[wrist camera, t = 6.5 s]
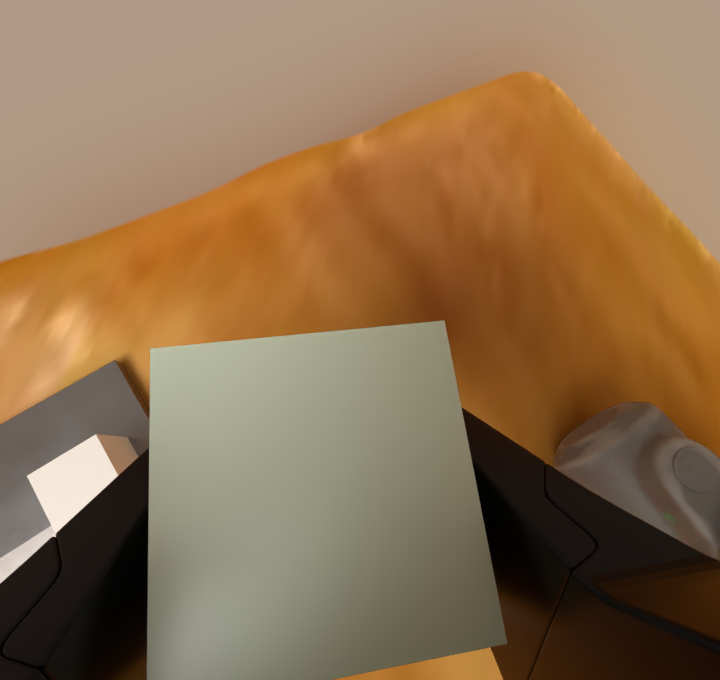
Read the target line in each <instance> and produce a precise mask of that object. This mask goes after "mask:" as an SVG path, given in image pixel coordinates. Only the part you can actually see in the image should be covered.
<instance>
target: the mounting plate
mask: <svg viewBox="0 0 720 680" xmlns="http://www.w3.org/2000/svg"><path fill="white" fill-rule="evenodd" d="M149 428H150V412H149V410H148V408H147V407H146V405H145V403H144V401H143V400H142V398H141V396H140V394H139V393H138V391H137V389H136V387H135V386H134V384H133V382H132V381H131V379H130V377H129V375H128V374H127V372H126V370H125V368H124V367H123V365H122V363H120V362H117V361H115V360H114V361H112V362H111V363H109V364H107V365H105V366H104V367H102V368H100V369H98V370H97V371H95V372H93V373H91V374H89V375H88V376H86V377H84V378H82V379H81V380H79V381H77V382H75V383H74V384H72V385H70V386H68V387H66V388H65V389H63V390H61V391H59V392H58V393H56V394H54V395H52V396H51V397H49V398H47V399H45V400H43V401H42V402H40V403H38V404H36V405H35V406H33V407H31V408H29V409H28V410H26V411H24V412H22V413H20V414H19V415H17V416H15V417H13V418H12V419H10V420H8V421H6V422H5V423H3V424H1V425H0V583H1V582H2V581H4V580H5V579H6V578H7V577H8V576H9V575H10V574H11V573H12V572H14V571H15V570H16V569H17V568H18V567H19V566H20V565H21V564H23V563H24V562H25V561H26V560H27V559H28V558H29V557H30V556H32V555H33V554H34V553H35V552H36V551H37V550H38V549H39V548H40V547H41V546H42V545H43V544H45V543H46V542H47V541H48V540H49V539H50V538H51V537H53V536H55V537H56V534H55V532H54V530H53V528H52V526H51V524H50V522H49V520H48V518H47V516H46V514H45V512H44V510H43V508H42V506H41V504H40V501H39V499H38V497H37V495H36V493H35V491H34V489H33V487H32V485H31V483H30V481H29V479H28V477H27V475H29V474H31V473H32V472H34V471H36V470H37V469H39V468H41V467H42V466H44V465H46V464H47V463H49V462H51V461H52V460H54V459H56V458H57V457H59V456H61V455H62V454H64V453H66V452H67V451H69V450H71V449H72V448H74V447H76V446H77V445H79V444H81V443H82V442H84V441H86V440H87V439H89V438H90V437H92V436H94V435H95V434H98V435H109V436H121V437H128V439H129V441H130V443H131V444H132V446H133V448H134V450H135V452H136V453H137V455H138V457H139V456H140V455H141V454H142V453H143V452H144V451H145V450H146V449H147V448H149Z"/></svg>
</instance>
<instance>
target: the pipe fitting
mask: <svg viewBox="0 0 720 680" xmlns="http://www.w3.org/2000/svg"><path fill="white" fill-rule="evenodd" d="M553 466H554V468H555V469H557V470H558V471H560V472H561V473H563V474H565V475H566V476H568V477H569V478H571V479H572V480H574V481H576V482H577V483H579V484H580V485H582V486H584V487H585V488H587V489H588V490H590V491H592V492H594V493H595V494H597V495H599V496H601V497H602V498H604V499H606V500H608V501H609V502H611V503H613V504H614V505H616V506H618V507H620V508H622V509H623V510H625V511H627V512H629V513H631V514H632V515H634V516H636V517H638V518H640V519H641V520H643V521H645V522H647V523H649V524H650V525H652V526H654V527H656V528H658V529H659V530H661V531H663V532H665V533H667V534H668V535H670V536H672V537H674V538H676V539H677V540H679V541H681V542H683V543H685V544H686V545H688V546H690V547H692V548H694V549H696V550H698V551H700V552H702V553H704V554H706V555H708V556H710V557H712V558H715V559H717V560H719V561H720V458H719V457H718V456H717V455H715V454H714V453H713V452H712V451H711V450H709V449H708V448H706V447H705V446H703V445H702V444H700V443H698V442H696V441H693V440H691V439H689V438H688V437H687V436H686V435H685V434H684V433H683V432H682V431H681V430H680V429H679V428H678V427H677V426H676V425H675V424H674V423H673V422H672V421H671V420H670V419H669V418H668V417H667V416H666V415H665V414H664V413H663V412H662V411H661V410H660V409H659V408H658V407H656V406H655V405H653V404H651V403H647V402H624V403H620V404H617V405H614V406H612V407H609V408H607V409H605V410H603V411H601V412H600V413H598V414H596V415H594V416H593V417H591V418H590V419H588V420H586V421H585V422H583V423H582V424H581V425H579V426H578V427H577V428H575V429H574V430H573V431H572V432H571V433H569V434H568V435H567V436H566V437H565V438H564V439H563V440H562V441H561V443H560V444H559V446H558V448H557V450H556V453H555V457H554V461H553Z"/></svg>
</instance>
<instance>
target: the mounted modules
mask: <svg viewBox="0 0 720 680" xmlns="http://www.w3.org/2000/svg"><path fill="white" fill-rule="evenodd" d="M137 458H138V455H137V453H136V452H135V450H134V448H133V446H132V444H131V443H130V441H129V439H128V437H121V436H109V435H98V434H95V435H94V436H92V437H90V438H89V439H87V440H86V441H84V442H82V443H81V444H79V445H77V446H76V447H74V448H72V449H71V450H69V451H67V452H66V453H64V454H62V455H61V456H59V457H57V458H56V459H54V460H52V461H51V462H49V463H47V464H46V465H44V466H42V467H41V468H39V469H37V470H36V471H34V472H32V473H31V474H29V475H27V477H28V479H29V481H30V483H31V485H32V487H33V489H34V491H35V493H36V495H37V497H38V499H39V501H40V504H41V506H42V508H43V510H44V512H45V514H46V516H47V518H48V520H49V522H50V524H51V526H52V528H53V530H54V532H55V534H56V533H57V532H58V531H59V530H60V529H61V528H62V527H63V526H64V525H65V524H66V523H67V522H69V521H70V520H71V519H72V518H73V517H74V516H75V515H76V514H77V513H78V512H79V511H80V510H82V509H83V508H84V507H85V506H86V505H87V504H88V503H89V502H90V501H91V500H92V499H93V498H94V497H96V496H97V495H98V494H99V493H100V492H101V491H102V490H103V489H104V488H105V487H106V486H107V485H109V484H110V483H111V482H112V481H113V480H114V479H115V478H116V477H117V476H118V475H119V474H120V473H122V472H123V471H124V470H125V469H126V468H127V467H128V466H129V465H130V464H131V463H132V462H133V461H134V460H136V459H137Z"/></svg>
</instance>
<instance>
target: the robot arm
mask: <svg viewBox="0 0 720 680" xmlns="http://www.w3.org/2000/svg"><path fill="white" fill-rule="evenodd" d="M461 408H462V407H461ZM462 413H463V418H464V423H465V428H466V433H467V439H468V444H469V449H470V454H471V459H472V464H473V469H474V474H475V480H476V485H477V490H478V495H479V500H480V505H481V510H482V515H483V521H484V526H485V531H486V536H487V541H488V546H489V551H490V556H491V562H492V567H493V572H494V577H495V582H496V587H497V592H498V597H499V603H500V608H501V613H502V618H503V623H504V628H505V633H506V638H507V644H503V645H498V646H494V647H491V650H492V652H493V655H494V657H495V660H496V662H497V665H498V667H499V670H500V672H501V675H502V677H503V680H720V561H719V560H717V559H715V558H712V557H710V556H708V555H706V554H704V553H702V552H700V551H698V550H696V549H694V548H692V547H690V546H688V545H686V544H685V543H683V542H681V541H679V540H677V539H676V538H674V537H672V536H670V535H668V534H667V533H665V532H663V531H661V530H659V529H658V528H656V527H654V526H652V525H650V524H649V523H647V522H645V521H643V520H641V519H640V518H638V517H636V516H634V515H632V514H631V513H629V512H627V511H625V510H623V509H622V508H620V507H618V506H616V505H614V504H613V503H611V502H609V501H608V500H606V499H604V498H602V497H601V496H599V495H597V494H595V493H594V492H592V491H590V490H588V489H587V488H585V487H584V486H582V485H580V484H579V483H577V482H576V481H574V480H572V479H571V478H569V477H568V476H566V475H565V474H563V473H561V472H560V471H558V470H557V469H555V468H554V467H552V466H551V465H549V464H545V462H544V461H543V460H541V459H540V458H538V457H537V456H535V455H534V454H532V453H531V452H529V451H528V450H526V449H525V448H523V447H522V446H520V445H518V444H517V443H515V442H514V441H512V440H511V439H509V438H508V437H506V436H505V435H503V434H502V433H500V432H499V431H497V430H496V429H494V428H493V427H491V426H489V425H488V424H486V423H485V422H483V421H482V420H480V419H479V418H477V417H476V416H474V415H473V414H471V413H470V412H468V411H467V410H465V409H464V408H462ZM148 521H149V448H147V449H146V450H145V451H144V452H143V453H142V454H141V455H140V456H139V457H138V458H137V459H136V460H134V461H133V462H132V463H131V464H130V465H129V466H128V467H127V468H126V469H125V470H124V471H123V472H122V473H120V474H119V475H118V476H117V477H116V478H115V479H114V480H113V481H112V482H111V483H110V484H109V485H107V486H106V487H105V488H104V489H103V490H102V491H101V492H100V493H99V494H98V495H97V496H96V497H94V498H93V499H92V500H91V501H90V502H89V503H88V504H87V505H86V506H85V507H84V508H83V509H82V510H80V511H79V512H78V513H77V514H76V515H75V516H74V517H73V518H72V519H71V520H70V521H69V522H67V523H66V524H65V525H64V526H63V527H62V528H61V529H60V530H59V531H58V532H57V533H56V537H55V536H53V537H51V538H50V539H49V540H48V541H47V542H46V543H45V544H43V545H42V546H41V547H40V548H39V549H38V550H37V551H36V552H35V553H34V554H33V555H32V556H30V557H29V558H28V559H27V560H26V561H25V562H24V563H23V564H21V565H20V566H19V567H18V568H17V569H16V570H15V571H14V572H12V573H11V574H10V575H9V576H8V577H7V578H6V579H5V580H4V581H2V582H1V583H0V680H147V613H148Z"/></svg>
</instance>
